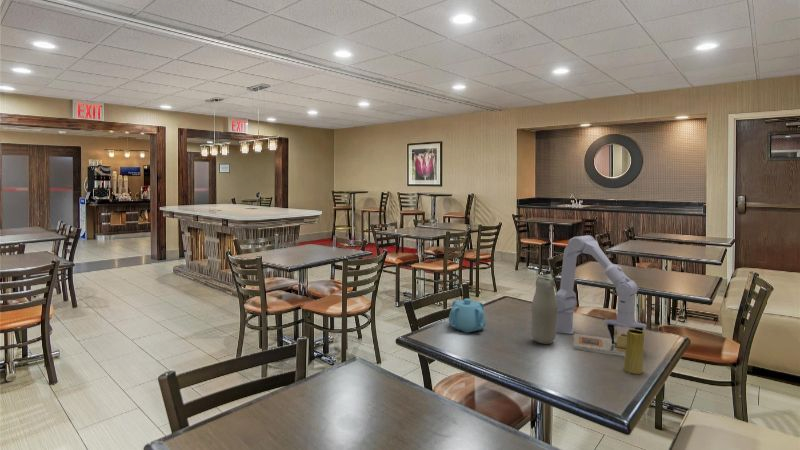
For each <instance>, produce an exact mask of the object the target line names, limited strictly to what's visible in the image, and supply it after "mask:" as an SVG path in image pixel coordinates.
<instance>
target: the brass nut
mask: <svg viewBox="0 0 800 450" xmlns="http://www.w3.org/2000/svg"><path fill="white" fill-rule="evenodd" d="M615 339H616V346H615V348H620V349H626V345H627V334H624V333H618V332H616V338H615Z"/></svg>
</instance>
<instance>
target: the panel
mask: <svg viewBox="0 0 800 450" xmlns="http://www.w3.org/2000/svg"><path fill="white" fill-rule="evenodd" d="M584 342H586V343H584ZM572 350H579V351H584V352H592V353H596V354H597V353H598V354H605V355H611V356H618V357H624V358H625V355H626V349H620V348H616V338H614V344H612V339H611V337H610V338H608V337H601V336H594V335H593V336H592V335H588V334H578V333H574V336H573V348H572Z"/></svg>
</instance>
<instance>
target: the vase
mask: <svg viewBox="0 0 800 450" xmlns="http://www.w3.org/2000/svg"><path fill="white" fill-rule="evenodd" d="M644 343H645V332H644V330H643V331H641V330H636V329H635V328H629V330H628V331H627V345H626V355H625V357H624V364H623V370H624V371H625V372H627V373H629V374H633V375H642V374H644Z"/></svg>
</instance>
